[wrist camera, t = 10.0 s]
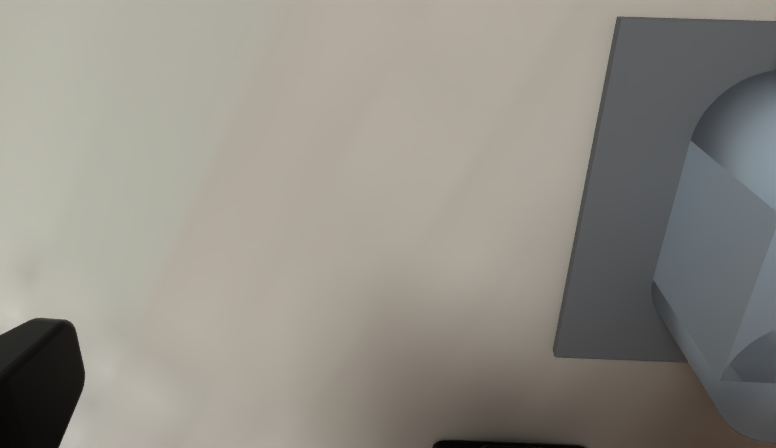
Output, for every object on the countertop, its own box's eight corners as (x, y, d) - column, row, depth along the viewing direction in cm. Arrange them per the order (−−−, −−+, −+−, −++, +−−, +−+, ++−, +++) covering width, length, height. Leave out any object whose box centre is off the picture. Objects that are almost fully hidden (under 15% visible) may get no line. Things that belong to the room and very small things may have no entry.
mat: (821, 360, 22) (828, 367, 22) (552, 350, 23) (555, 357, 22) (975, 27, 17) (987, 29, 17) (617, 16, 17) (621, 18, 17)
